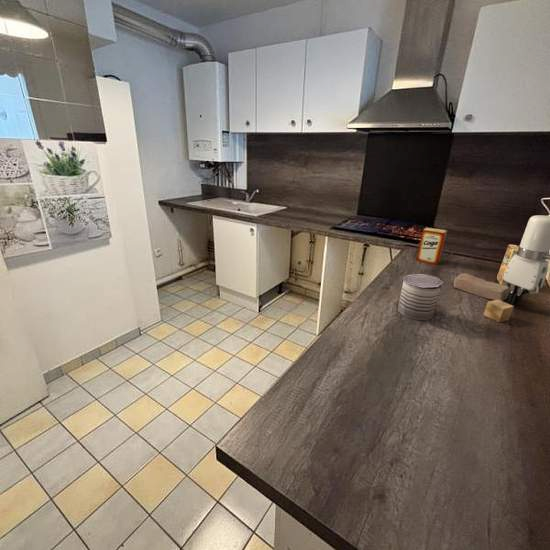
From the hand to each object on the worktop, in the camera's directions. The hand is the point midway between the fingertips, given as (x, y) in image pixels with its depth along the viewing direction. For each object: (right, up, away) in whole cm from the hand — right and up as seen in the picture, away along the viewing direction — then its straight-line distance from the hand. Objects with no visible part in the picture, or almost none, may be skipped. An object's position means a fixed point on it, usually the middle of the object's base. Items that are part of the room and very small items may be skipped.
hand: (513, 303), depth 102 cm
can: (-37, -2, -4) cm, 37 cm away
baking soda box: (-7, +17, +43) cm, 47 cm away
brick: (-5, +3, +10) cm, 12 cm away
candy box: (+12, +7, +20) cm, 24 cm away
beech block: (-11, -4, -7) cm, 14 cm away
